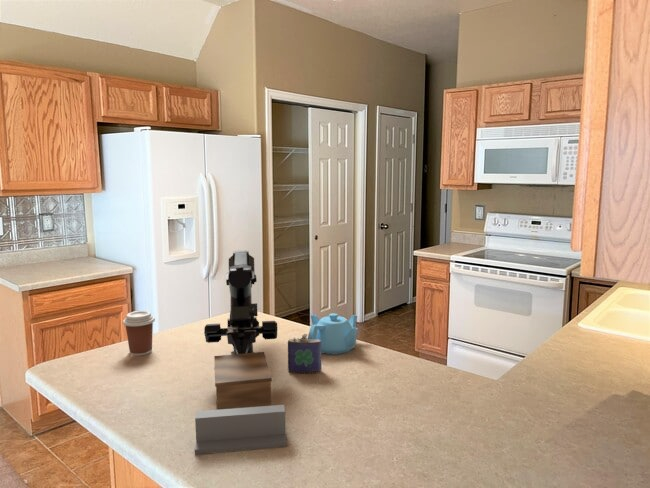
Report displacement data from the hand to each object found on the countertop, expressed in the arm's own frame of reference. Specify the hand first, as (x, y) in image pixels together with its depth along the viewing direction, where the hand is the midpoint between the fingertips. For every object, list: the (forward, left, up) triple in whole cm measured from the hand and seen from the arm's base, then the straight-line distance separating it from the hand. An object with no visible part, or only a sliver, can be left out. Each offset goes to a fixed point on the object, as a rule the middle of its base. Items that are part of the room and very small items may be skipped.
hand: (242, 361), depth 127 cm
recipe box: (+8, -1, -7) cm, 11 cm away
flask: (-4, +18, -7) cm, 19 cm away
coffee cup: (-35, -25, -7) cm, 44 cm away
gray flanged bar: (+26, -5, -7) cm, 27 cm away
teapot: (-19, +32, -7) cm, 38 cm away
